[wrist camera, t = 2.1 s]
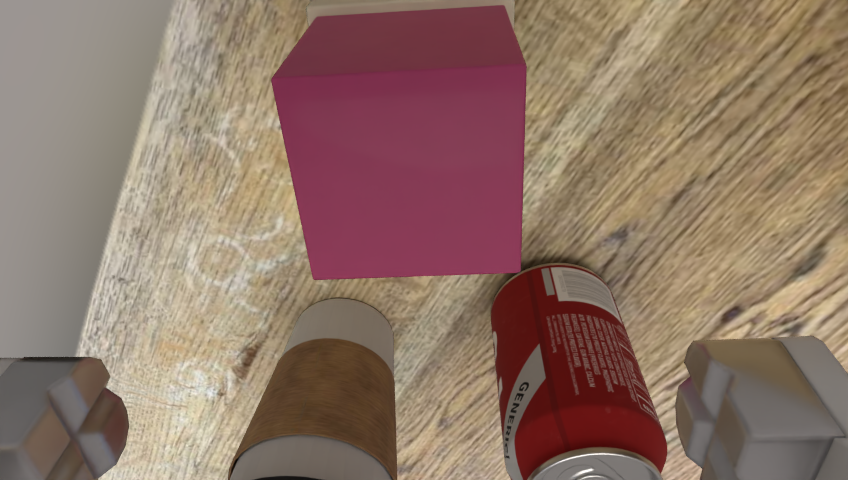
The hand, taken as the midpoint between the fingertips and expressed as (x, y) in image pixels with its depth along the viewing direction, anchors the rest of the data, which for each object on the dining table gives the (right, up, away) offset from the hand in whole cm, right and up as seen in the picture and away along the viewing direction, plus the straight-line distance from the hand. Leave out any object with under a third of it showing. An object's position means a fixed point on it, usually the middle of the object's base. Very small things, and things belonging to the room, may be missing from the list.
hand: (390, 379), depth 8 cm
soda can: (+8, -1, +26) cm, 27 cm away
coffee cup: (-4, -4, +27) cm, 28 cm away
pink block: (0, +6, +9) cm, 11 cm away
